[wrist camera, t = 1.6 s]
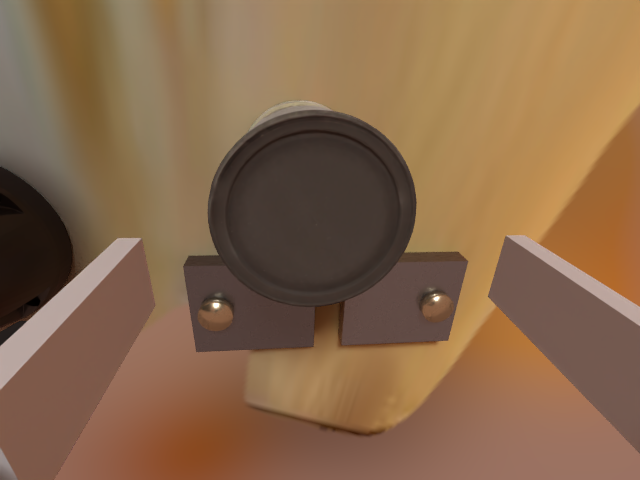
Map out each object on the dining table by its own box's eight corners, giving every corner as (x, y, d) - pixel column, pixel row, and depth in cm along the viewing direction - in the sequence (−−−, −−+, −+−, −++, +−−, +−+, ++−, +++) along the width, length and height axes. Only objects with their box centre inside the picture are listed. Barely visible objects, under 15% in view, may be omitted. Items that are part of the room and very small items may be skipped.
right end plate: (338, 332, 38) (342, 352, 35) (344, 253, 33) (350, 268, 31) (440, 328, 39) (452, 346, 36) (458, 251, 35) (473, 266, 32)
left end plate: (200, 338, 36) (194, 359, 33) (188, 255, 32) (180, 271, 29) (311, 333, 37) (314, 353, 34) (314, 254, 33) (317, 269, 30)
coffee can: (381, 145, 29) (459, 192, 17) (315, 236, 32) (337, 335, 20) (282, 70, 26) (282, 55, 13) (218, 178, 29) (169, 252, 16)
